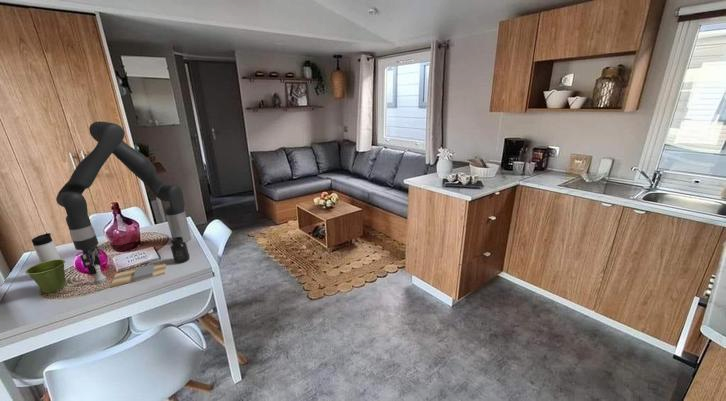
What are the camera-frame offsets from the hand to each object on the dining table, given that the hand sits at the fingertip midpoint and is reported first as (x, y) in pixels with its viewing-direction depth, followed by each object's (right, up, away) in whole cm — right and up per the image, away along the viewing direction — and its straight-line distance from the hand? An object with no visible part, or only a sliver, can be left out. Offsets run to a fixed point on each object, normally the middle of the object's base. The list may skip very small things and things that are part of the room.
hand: (95, 269), depth 131 cm
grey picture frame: (+17, -2, +6) cm, 18 cm away
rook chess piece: (0, -6, +3) cm, 7 cm away
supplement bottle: (+27, 0, +18) cm, 33 cm away
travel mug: (-27, -4, +10) cm, 29 cm away
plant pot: (-16, -8, -2) cm, 18 cm away
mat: (+15, -4, +7) cm, 17 cm away
